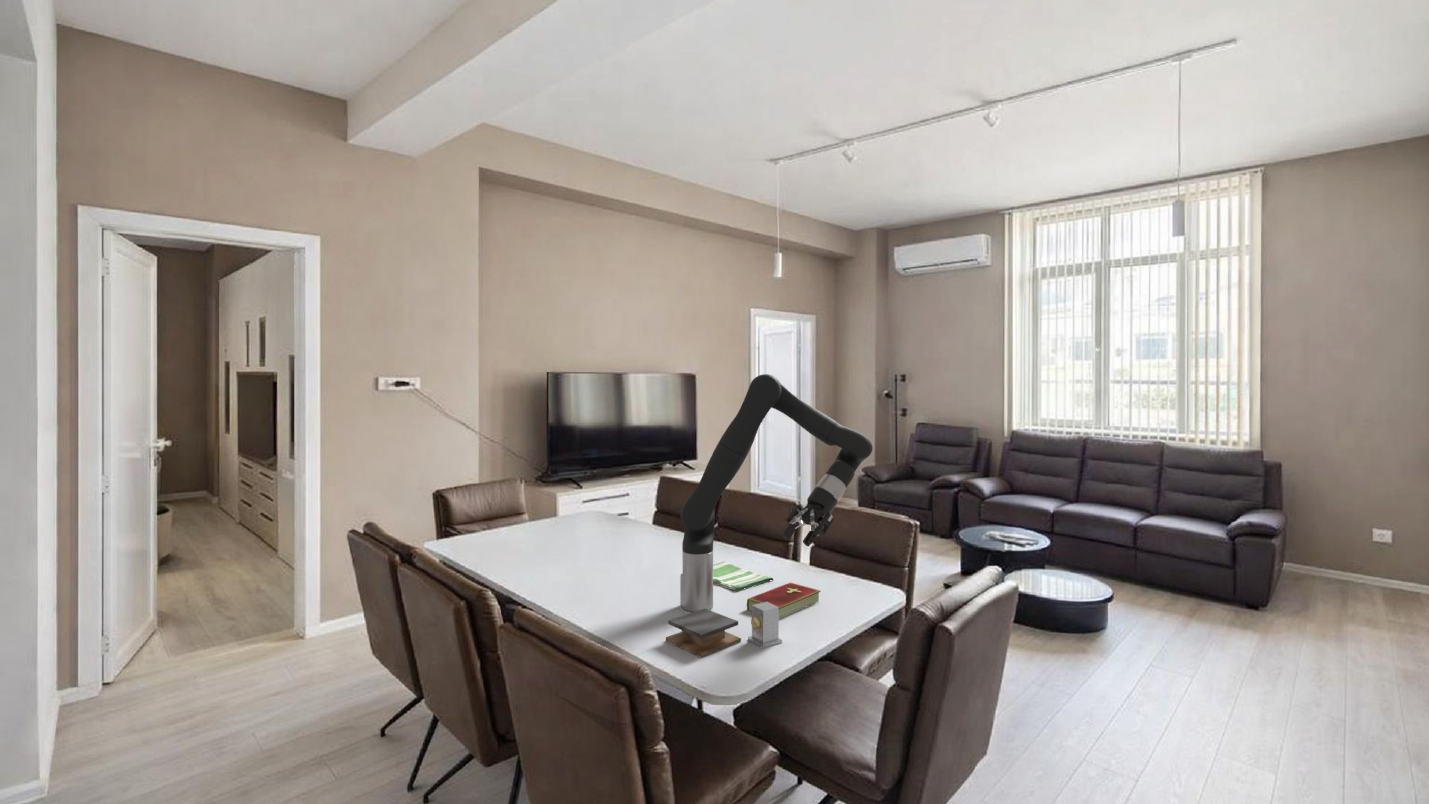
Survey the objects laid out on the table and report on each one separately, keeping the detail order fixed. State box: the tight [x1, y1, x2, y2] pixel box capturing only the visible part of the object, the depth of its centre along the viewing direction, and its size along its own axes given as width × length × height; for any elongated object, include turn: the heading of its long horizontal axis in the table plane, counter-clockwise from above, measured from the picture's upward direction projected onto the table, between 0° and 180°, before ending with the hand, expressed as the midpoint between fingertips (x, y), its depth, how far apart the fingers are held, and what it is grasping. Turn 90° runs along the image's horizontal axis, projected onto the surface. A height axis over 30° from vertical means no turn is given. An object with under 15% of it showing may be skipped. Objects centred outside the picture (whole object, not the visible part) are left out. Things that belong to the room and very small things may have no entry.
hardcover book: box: [746, 582, 821, 620], centre depth 200 cm, size 12×21×4 cm, turn 137°
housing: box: [747, 602, 783, 649], centre depth 174 cm, size 6×7×9 cm
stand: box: [665, 608, 742, 658], centre depth 174 cm, size 14×14×6 cm
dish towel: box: [713, 560, 774, 592], centre depth 227 cm, size 18×23×3 cm
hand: (795, 541), depth 179 cm, fingers open, 8 cm apart
